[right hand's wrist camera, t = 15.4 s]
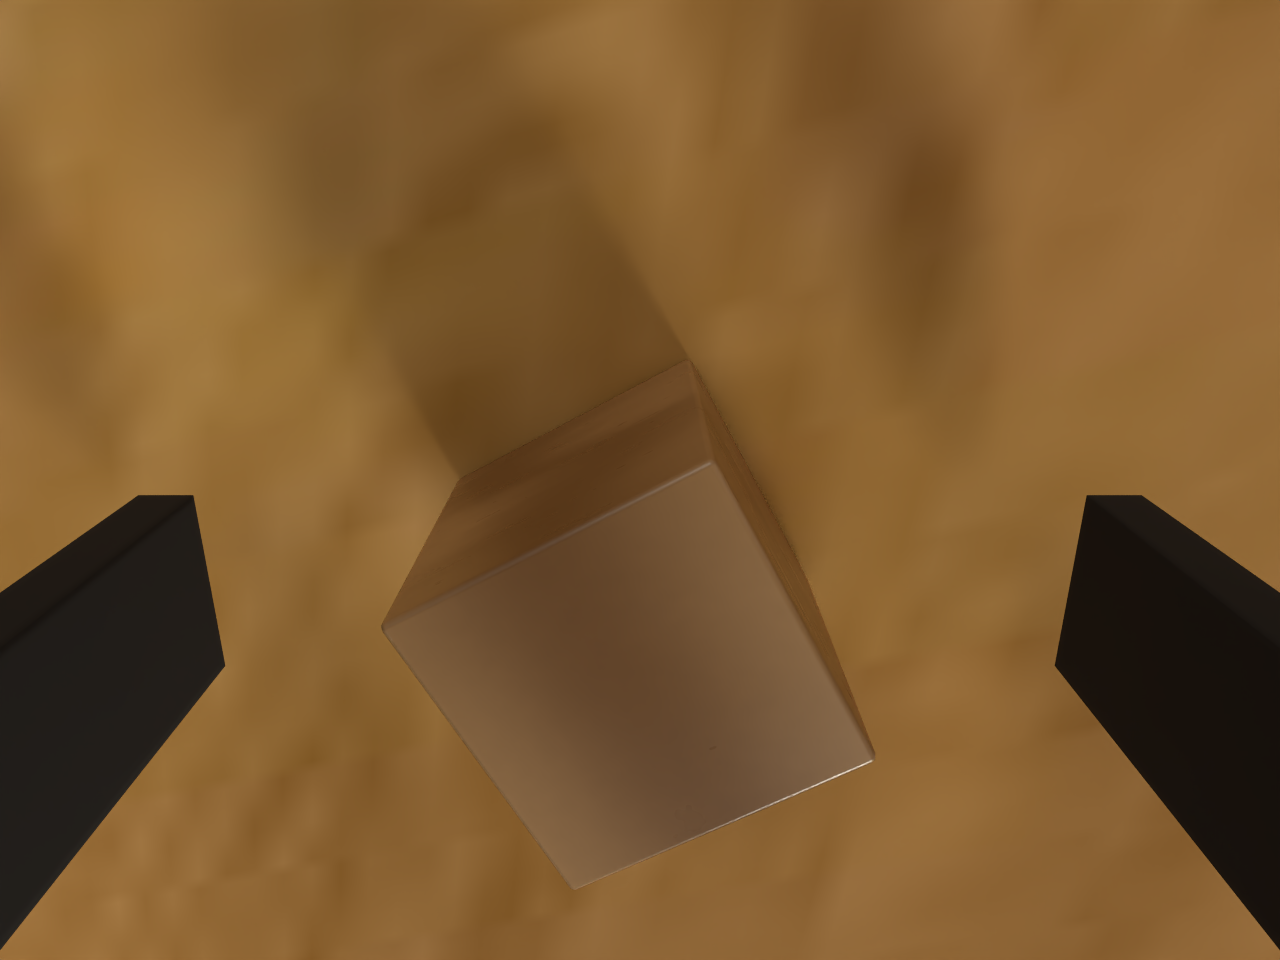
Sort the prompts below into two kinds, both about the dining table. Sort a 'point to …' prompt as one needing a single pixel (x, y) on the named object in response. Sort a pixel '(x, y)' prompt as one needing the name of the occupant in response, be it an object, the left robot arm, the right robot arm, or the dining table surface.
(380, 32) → the dining table surface
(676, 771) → the block
